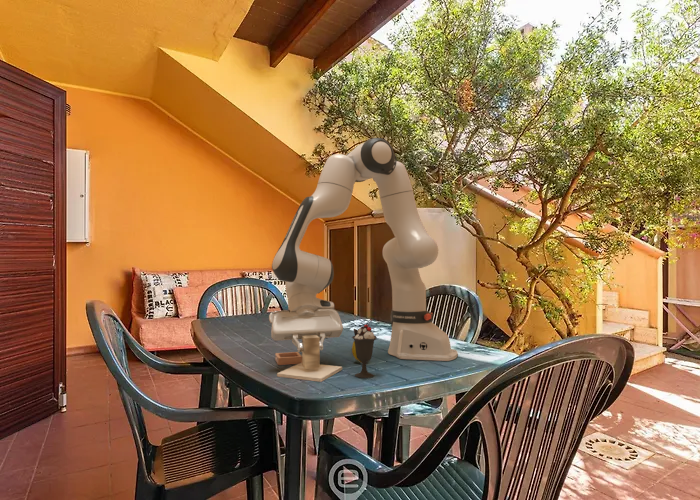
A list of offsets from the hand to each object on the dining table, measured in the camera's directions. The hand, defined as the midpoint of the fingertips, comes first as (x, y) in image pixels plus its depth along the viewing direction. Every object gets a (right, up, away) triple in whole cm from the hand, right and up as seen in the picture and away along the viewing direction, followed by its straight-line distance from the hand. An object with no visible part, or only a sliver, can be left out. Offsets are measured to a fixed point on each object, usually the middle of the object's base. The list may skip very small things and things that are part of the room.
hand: (310, 349), depth 112 cm
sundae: (+15, -6, -3) cm, 16 cm away
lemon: (+14, -7, +11) cm, 19 cm away
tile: (0, -6, 0) cm, 6 cm away
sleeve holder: (-8, -7, +13) cm, 16 cm away
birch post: (0, -4, 0) cm, 4 cm away
